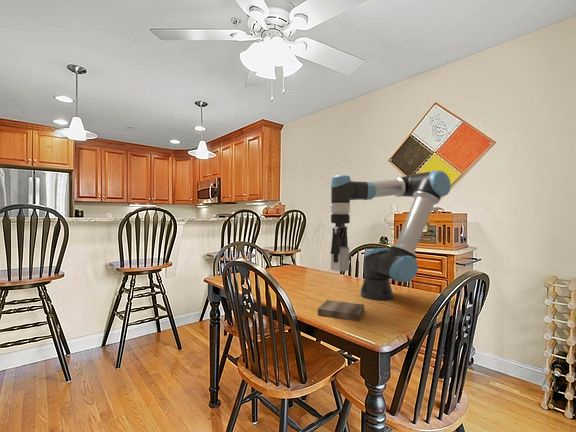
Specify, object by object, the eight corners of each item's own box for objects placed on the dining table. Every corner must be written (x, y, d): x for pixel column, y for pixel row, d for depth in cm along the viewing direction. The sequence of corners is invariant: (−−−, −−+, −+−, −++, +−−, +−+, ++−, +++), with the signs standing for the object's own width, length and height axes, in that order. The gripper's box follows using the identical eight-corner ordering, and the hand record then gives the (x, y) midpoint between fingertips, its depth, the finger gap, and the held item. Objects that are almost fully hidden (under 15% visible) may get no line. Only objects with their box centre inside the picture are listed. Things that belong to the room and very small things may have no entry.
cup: (331, 271, 118) (331, 248, 118) (330, 266, 128) (330, 245, 128) (349, 271, 118) (350, 248, 118) (347, 266, 128) (347, 245, 128)
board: (364, 310, 125) (364, 304, 125) (358, 321, 113) (358, 314, 113) (326, 305, 131) (326, 299, 131) (317, 315, 119) (317, 308, 119)
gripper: (338, 213, 134) (338, 263, 135) (322, 213, 114) (322, 272, 114) (355, 213, 131) (354, 264, 131) (342, 213, 111) (341, 274, 111)
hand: (339, 268), depth 123 cm, fingers closed on cup, 10 cm apart
